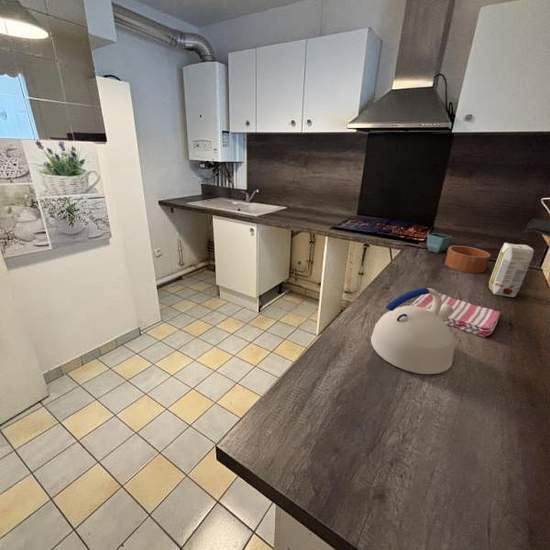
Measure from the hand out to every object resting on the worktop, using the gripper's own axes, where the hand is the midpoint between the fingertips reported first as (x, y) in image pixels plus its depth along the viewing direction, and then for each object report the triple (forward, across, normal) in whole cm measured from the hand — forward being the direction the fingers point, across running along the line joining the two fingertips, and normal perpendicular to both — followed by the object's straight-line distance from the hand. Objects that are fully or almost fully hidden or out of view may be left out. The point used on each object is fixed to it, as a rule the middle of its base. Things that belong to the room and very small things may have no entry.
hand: (543, 244), depth 95 cm
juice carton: (+16, +8, -17) cm, 25 cm away
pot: (+42, -1, -13) cm, 44 cm away
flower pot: (+61, -12, -13) cm, 64 cm away
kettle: (-32, -14, -51) cm, 62 cm away
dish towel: (-8, -6, -36) cm, 37 cm away
